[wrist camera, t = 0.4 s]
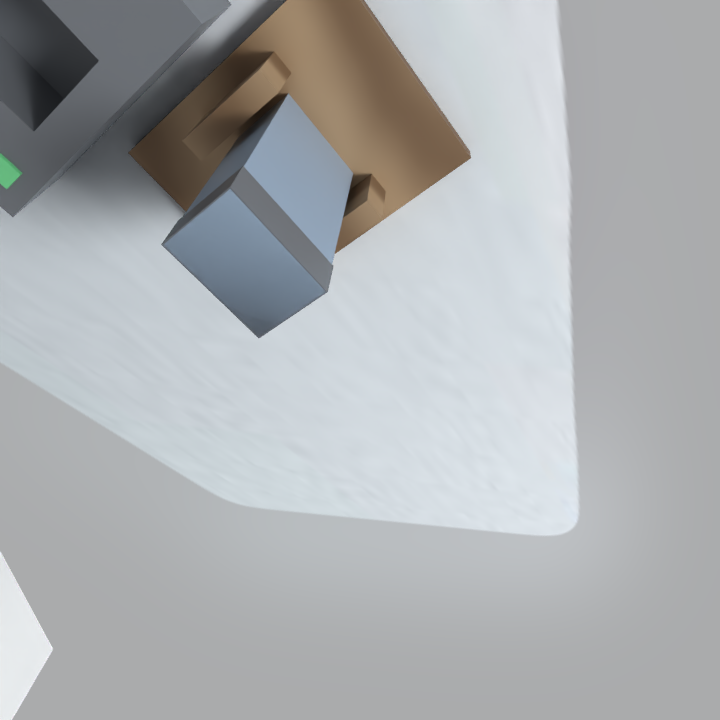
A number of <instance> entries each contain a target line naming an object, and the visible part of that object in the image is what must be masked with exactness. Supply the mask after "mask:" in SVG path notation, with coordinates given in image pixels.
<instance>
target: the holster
mask: <svg viewBox="0 0 720 720" xmlns="http://www.w3.org/2000/svg"><path fill="white" fill-rule="evenodd" d="M288 93H289V95H290V96H291V97H292V98H293V100H294V101H295V102H296V103H297V104H298V106H299V107H300V108H301V109H302V111H303V112H304V113H305V114H306V116H307V117H308V118H309V119H310V120H311V122H312V123H313V124H314V125H315V127H316V128H317V129H318V130H319V132H320V133H321V134H322V135H323V136H324V138H325V139H326V140H327V141H328V143H329V144H330V145H331V146H332V148H333V149H334V150H335V151H336V152H337V154H338V155H339V156H340V157H341V159H342V160H343V161H344V162H345V164H346V165H347V166H348V167H349V168H350V170H351V171H352V172H353V176H352V181H351V185H350V189H349V193H348V198H347V202H346V206H345V211H344V215H343V219H342V224H341V228H340V232H339V237H338V241H337V245H336V249H335V253H337V252H338V251H340V250H341V249H342V248H344V247H345V246H347V245H348V244H350V243H351V242H352V241H354V240H355V239H357V238H358V237H360V236H361V235H362V234H364V233H365V232H367V231H368V230H369V229H371V228H372V227H374V226H375V225H377V224H378V223H379V222H381V221H382V220H384V219H385V218H386V217H388V216H389V215H391V214H392V213H394V212H395V211H396V210H398V209H399V208H401V207H402V206H404V205H405V204H406V203H408V202H409V201H411V200H412V199H413V198H415V197H416V196H418V195H419V194H421V193H422V192H423V191H425V190H426V189H428V188H429V187H430V186H432V185H433V184H435V183H436V182H438V181H439V180H440V179H442V178H443V177H445V176H446V175H448V174H449V173H450V172H452V171H453V170H455V169H456V168H457V167H459V166H460V165H462V164H463V163H465V162H466V161H467V160H469V159H470V158H471V156H470V151H469V149H468V148H467V147H466V145H465V144H464V142H463V141H462V139H461V138H460V137H459V135H458V134H457V132H456V131H455V129H454V128H453V127H452V125H451V124H450V122H449V121H448V119H447V118H446V117H445V115H444V114H443V112H442V111H441V109H440V108H439V107H438V105H437V104H436V102H435V101H434V99H433V98H432V97H431V95H430V94H429V92H428V91H427V89H426V88H425V87H424V85H423V84H422V82H421V81H420V79H419V78H418V77H417V75H416V74H415V72H414V71H413V69H412V68H411V67H410V65H409V64H408V62H407V61H406V60H405V58H404V57H403V55H402V54H401V52H400V51H399V50H398V48H397V47H396V45H395V44H394V42H393V41H392V40H391V38H390V37H389V35H388V34H387V32H386V31H385V30H384V28H383V27H382V25H381V24H380V22H379V21H378V20H377V18H376V17H375V15H374V14H373V12H372V11H371V10H370V8H369V7H368V5H367V4H366V2H365V1H364V0H287V1H286V2H285V3H283V4H282V5H281V6H280V7H279V8H278V9H277V10H276V11H275V12H274V13H273V14H272V15H271V16H270V17H269V18H268V19H267V20H266V21H265V22H264V23H263V24H262V25H261V26H260V27H259V28H257V29H256V30H255V31H254V32H253V33H252V34H251V35H250V36H249V37H248V38H247V39H246V40H245V41H244V42H243V43H242V44H241V45H240V46H239V47H238V48H237V49H236V50H235V51H234V52H233V53H231V54H230V55H229V56H228V57H227V58H226V59H225V60H224V61H223V62H222V63H221V64H220V65H219V66H218V67H217V68H216V69H215V70H214V71H213V72H212V73H211V74H210V75H209V76H208V77H207V78H205V79H204V80H203V81H202V82H201V83H200V84H199V85H198V86H197V87H196V88H195V89H194V90H193V91H192V92H191V93H190V94H189V95H188V96H187V97H186V98H185V99H184V100H183V101H182V102H181V103H179V104H178V105H177V106H176V107H175V108H174V109H173V110H172V111H171V112H170V113H169V114H168V115H167V116H166V117H165V118H164V119H163V120H162V121H161V122H160V123H159V124H158V125H157V126H156V127H155V128H153V129H152V130H151V131H150V132H149V133H148V134H147V135H146V136H145V137H144V138H143V139H142V140H141V141H140V142H139V143H138V144H137V145H136V146H135V147H134V148H133V149H132V150H131V151H130V152H129V154H130V155H131V156H132V157H133V158H134V159H135V160H136V161H137V162H138V163H139V164H140V165H141V166H142V167H143V168H144V170H145V171H146V172H147V173H148V174H149V175H150V176H151V177H152V178H153V179H154V180H155V181H156V182H157V183H158V184H159V185H160V186H161V187H162V188H163V189H164V190H165V191H166V192H167V193H168V194H169V195H170V196H171V197H172V198H173V199H174V200H175V201H176V202H177V203H178V204H179V205H180V206H181V207H182V208H183V209H184V210H185V211H186V212H187V210H188V209H189V207H190V206H191V204H192V203H193V202H194V200H195V199H196V197H197V196H198V194H199V193H200V192H201V190H202V189H203V187H204V186H205V184H206V183H207V182H208V180H209V179H210V177H211V176H212V174H213V173H214V172H215V170H216V169H217V167H218V166H219V164H220V163H221V162H222V160H223V159H224V157H225V156H226V154H227V153H228V152H229V150H230V149H231V147H232V146H233V144H234V143H235V141H236V140H237V139H238V137H239V136H241V135H242V134H243V133H244V132H245V131H246V130H247V129H249V128H250V127H251V126H252V125H253V124H254V123H255V122H256V121H258V120H259V119H260V118H261V117H262V116H263V115H264V114H266V113H267V112H268V111H269V110H270V109H271V108H272V107H274V106H275V105H276V104H277V103H278V102H279V101H280V100H282V99H283V98H284V97H285V96H286V95H287V94H288Z"/></svg>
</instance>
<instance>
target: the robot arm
mask: <svg viewBox="0 0 720 720" xmlns="http://www.w3.org/2000/svg"><path fill="white" fill-rule="evenodd" d="M52 650H53V648H52V646H51V645H50V643H49V641H48V639H47V637H46V635H45V633H44V631H43V630H42V628H41V626H40V624H39V622H38V620H37V618H36V617H35V615H34V613H33V611H32V609H31V607H30V605H29V604H28V602H27V600H26V598H25V596H24V594H23V592H22V591H21V589H20V587H19V585H18V583H17V581H16V580H15V578H14V576H13V574H12V572H11V570H10V568H9V567H8V565H7V563H6V561H5V559H4V557H3V556H2V554H1V552H0V720H12V719H13V717H14V715H15V714H16V712H17V710H18V708H19V707H20V705H21V703H22V702H23V700H24V698H25V696H26V695H27V693H28V691H29V690H30V688H31V686H32V685H33V683H34V681H35V679H36V678H37V676H38V674H39V672H40V671H41V669H42V667H43V665H44V664H45V662H46V660H47V659H48V657H49V655H50V654H51V652H52Z"/></svg>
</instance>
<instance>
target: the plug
mask: <svg viewBox="0 0 720 720" xmlns="http://www.w3.org/2000/svg"><path fill="white" fill-rule="evenodd" d="M352 176H353V172H352V171H351V170H350V168H349V167H348V166H347V165H346V164H345V162H344V161H343V160H342V159H341V157H340V156H339V155H338V154H337V152H336V151H335V150H334V149H333V148H332V146H331V145H330V144H329V143H328V141H327V140H326V139H325V138H324V136H323V135H322V134H321V133H320V132H319V130H318V129H317V128H316V127H315V125H314V124H313V123H312V122H311V120H310V119H309V118H308V117H307V116H306V114H305V113H304V112H303V111H302V109H301V108H300V107H299V106H298V104H297V103H296V102H295V101H294V100H293V98H292V97H291V96H290V95H289V93H288V94H287V95H286V96H285V97H284V98H283V99H282V100H280V101H279V102H278V103H277V104H276V105H275V106H274V107H272V108H271V109H270V110H269V111H268V112H267V113H266V114H264V115H263V116H262V117H261V118H260V119H259V120H258V121H256V122H255V123H254V124H253V125H252V126H251V127H250V128H249V129H247V130H246V131H245V132H244V133H243V134H242V135H241V136H239V137H238V139H237V140H236V141H235V143H234V144H233V146H232V147H231V149H230V150H229V152H228V153H227V154H226V156H225V157H224V159H223V160H222V162H221V163H220V164H219V166H218V167H217V169H216V170H215V172H214V173H213V174H212V176H211V177H210V179H209V180H208V182H207V183H206V184H205V186H204V187H203V189H202V190H201V192H200V193H199V194H198V196H197V197H196V199H195V200H194V202H193V203H192V204H191V206H190V207H189V209H188V210H187V212H186V213H185V214H184V216H183V217H182V218H181V219H180V220H179V221H178V222H177V223H176V224H175V226H174V227H173V229H172V230H171V232H170V233H169V234H168V236H167V237H166V239H165V240H164V242H163V243H162V244H161V245H162V246H163V247H164V248H165V249H167V250H168V251H169V252H170V253H171V254H172V255H173V256H174V257H175V258H176V259H177V260H178V261H179V262H180V263H181V264H182V265H183V266H184V267H185V268H186V269H187V270H188V271H189V272H190V273H191V274H192V275H194V276H195V277H196V278H197V279H198V280H199V281H200V282H201V283H202V284H203V285H204V286H205V287H206V288H207V289H208V290H209V291H210V292H211V293H212V294H213V295H214V296H215V297H216V298H217V299H218V300H219V301H221V302H222V303H223V304H224V305H225V306H226V307H227V308H228V309H229V310H230V311H231V312H232V313H233V314H234V315H235V316H236V317H237V318H238V319H239V320H240V321H241V322H242V323H243V324H244V325H245V326H246V327H247V328H249V329H250V330H251V331H252V332H253V333H254V334H255V335H256V336H257V337H258V338H260V337H262V336H263V335H265V334H266V333H268V332H269V331H271V330H272V329H274V328H275V327H276V326H278V325H279V324H281V323H282V322H284V321H285V320H287V319H288V318H290V317H291V316H293V315H294V314H296V313H297V312H299V311H300V310H302V309H303V308H305V307H306V306H308V305H309V304H311V303H312V302H313V301H315V300H316V299H318V298H319V297H321V296H322V295H324V294H325V293H327V292H328V288H329V283H330V279H331V275H332V270H333V265H332V262H333V258H334V254H335V249H336V245H337V241H338V237H339V232H340V228H341V224H342V219H343V215H344V211H345V206H346V202H347V198H348V193H349V189H350V185H351V181H352Z"/></svg>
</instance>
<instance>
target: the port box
mask: <svg viewBox="0 0 720 720" xmlns="http://www.w3.org/2000/svg"><path fill="white" fill-rule="evenodd" d="M230 5H231V4H230V2H229V1H228V0H0V206H1V207H2V208H3V209H4V210H5V211H6V212H7V213H9V214H10V215H11V216H12V217H14V216H15V215H16V214H17V213H18V212H19V211H21V210H22V209H23V208H24V207H25V206H27V205H28V204H29V203H30V202H31V201H33V200H34V199H35V198H36V197H37V196H39V195H40V194H41V193H42V192H43V191H45V190H46V189H47V188H48V187H49V186H50V185H52V184H53V183H54V182H55V181H56V180H58V179H59V178H60V177H61V176H62V175H63V174H64V173H65V172H66V171H67V170H68V169H69V168H70V167H71V166H72V165H73V164H74V163H75V162H76V161H77V160H78V159H79V158H80V156H81V155H82V154H83V153H84V152H85V151H86V150H87V149H88V148H89V147H90V146H91V145H92V144H93V143H94V142H95V141H96V140H97V139H98V138H99V137H100V136H101V135H102V134H103V133H104V132H105V131H106V130H107V129H108V128H109V127H110V126H111V125H112V124H113V123H114V122H115V121H116V120H117V119H118V118H119V117H120V116H121V115H122V114H123V113H124V112H125V111H126V110H127V109H128V108H129V107H130V106H131V105H132V104H133V103H134V102H135V101H136V100H137V99H138V98H139V97H140V96H141V95H142V94H143V93H144V92H145V91H146V90H147V89H148V88H149V87H150V86H151V85H152V84H153V83H154V82H155V81H156V80H157V79H158V78H159V77H160V76H161V75H162V74H163V73H164V72H165V71H166V70H167V69H168V68H169V67H170V66H171V65H172V64H173V63H174V62H175V61H176V60H177V59H178V58H179V57H180V56H181V55H182V54H183V53H184V52H185V51H186V50H187V49H188V48H189V47H190V46H191V45H192V44H193V43H194V42H195V41H196V40H197V39H198V38H199V37H200V36H201V35H202V34H203V32H204V31H205V30H206V29H207V28H208V27H209V26H210V25H211V24H212V23H213V22H214V21H215V20H216V19H217V18H218V17H219V16H220V15H221V14H222V13H223V12H224V11H225V10H226V9H227V8H228V7H229V6H230Z"/></svg>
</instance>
